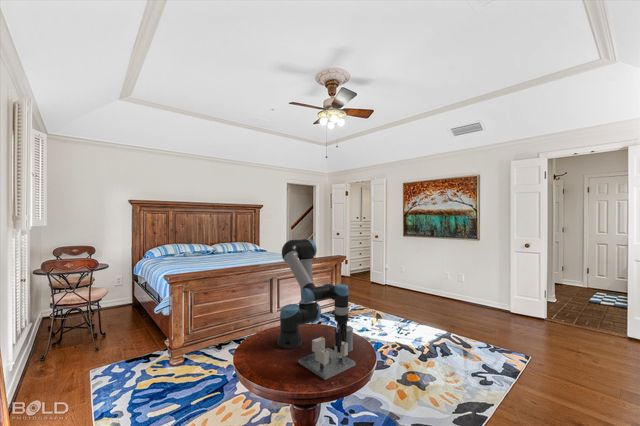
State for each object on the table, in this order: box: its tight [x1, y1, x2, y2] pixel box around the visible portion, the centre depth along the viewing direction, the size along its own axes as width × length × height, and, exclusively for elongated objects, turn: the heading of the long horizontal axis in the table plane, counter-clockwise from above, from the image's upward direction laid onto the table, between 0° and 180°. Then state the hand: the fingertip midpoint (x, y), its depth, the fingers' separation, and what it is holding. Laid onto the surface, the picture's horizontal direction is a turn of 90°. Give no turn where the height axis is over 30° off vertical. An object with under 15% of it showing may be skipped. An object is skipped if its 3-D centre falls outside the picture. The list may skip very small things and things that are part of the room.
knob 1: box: [314, 347, 329, 368], centre depth 158 cm, size 7×3×10 cm, turn 41°
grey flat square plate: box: [297, 347, 357, 381], centre depth 166 cm, size 22×22×3 cm
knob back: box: [311, 336, 326, 353], centre depth 171 cm, size 7×3×10 cm, turn 130°
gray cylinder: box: [345, 325, 354, 353], centre depth 185 cm, size 10×10×12 cm
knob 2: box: [334, 341, 349, 360], centre depth 167 cm, size 7×3×10 cm, turn 47°
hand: (340, 355), depth 167 cm, fingers closed on knob 2, 4 cm apart
